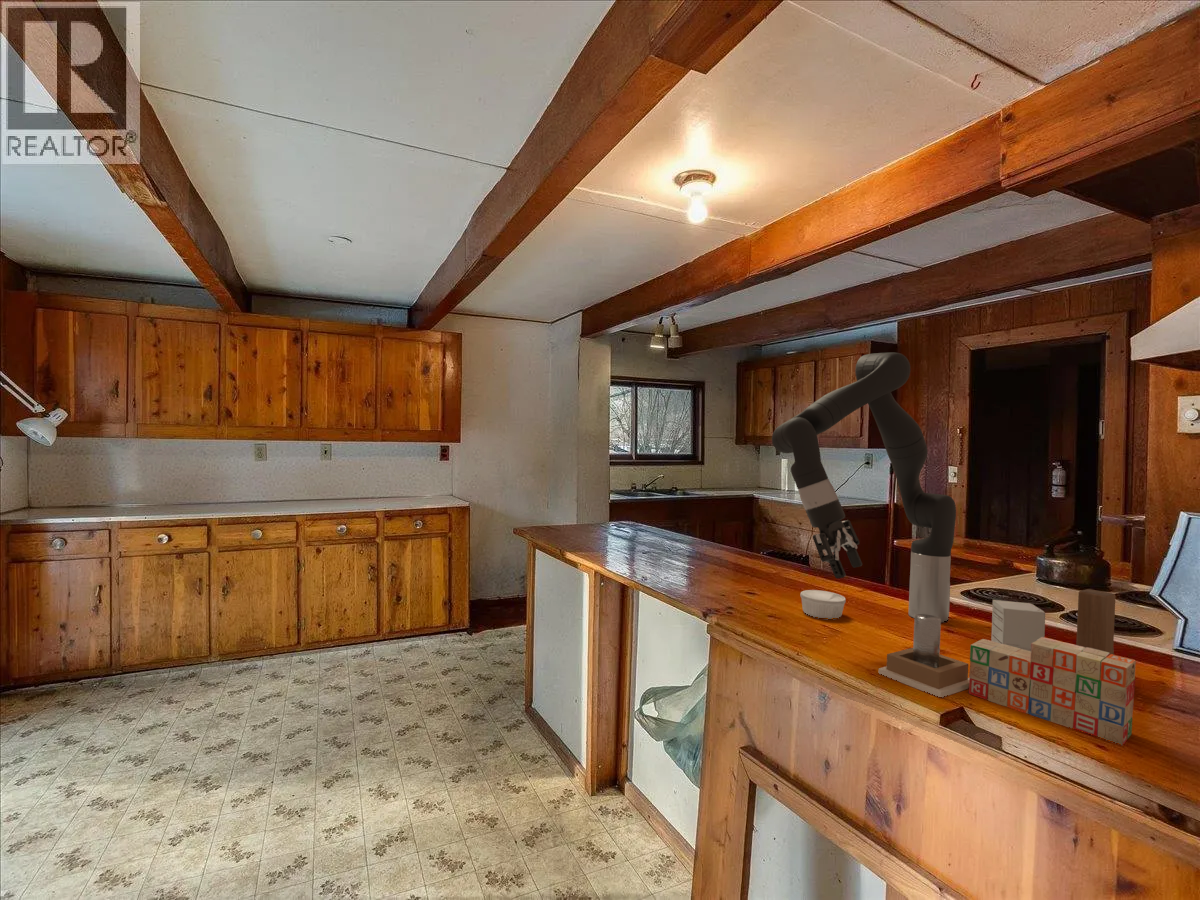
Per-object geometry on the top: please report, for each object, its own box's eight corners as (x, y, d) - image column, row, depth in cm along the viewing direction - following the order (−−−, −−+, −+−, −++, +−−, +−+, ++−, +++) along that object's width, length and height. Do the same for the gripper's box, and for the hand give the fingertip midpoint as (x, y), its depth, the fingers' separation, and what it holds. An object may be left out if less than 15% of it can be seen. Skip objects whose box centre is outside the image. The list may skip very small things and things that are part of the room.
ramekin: (851, 622, 146) (852, 601, 146) (808, 620, 146) (809, 599, 146) (834, 609, 157) (835, 590, 157) (794, 608, 157) (794, 589, 157)
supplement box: (1029, 661, 122) (1032, 602, 122) (1044, 674, 115) (1046, 612, 115) (989, 656, 124) (991, 598, 124) (1001, 668, 117) (1003, 607, 117)
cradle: (913, 663, 118) (914, 644, 118) (975, 685, 108) (976, 664, 108) (878, 673, 112) (879, 653, 112) (940, 698, 102) (941, 675, 101)
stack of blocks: (967, 694, 104) (970, 627, 104) (980, 687, 108) (983, 622, 107) (1124, 747, 87) (1127, 666, 87) (1133, 735, 90) (1136, 658, 90)
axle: (920, 668, 113) (922, 612, 113) (943, 676, 109) (945, 619, 109) (907, 671, 111) (909, 615, 111) (930, 680, 107) (932, 622, 107)
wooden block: (1092, 674, 116) (1096, 586, 116) (1121, 682, 112) (1125, 591, 112) (1073, 682, 111) (1077, 590, 111) (1103, 691, 107) (1107, 596, 107)
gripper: (820, 505, 121) (851, 578, 118) (849, 492, 131) (878, 559, 128) (791, 514, 126) (819, 584, 124) (820, 501, 136) (848, 566, 133)
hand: (849, 572), depth 126 cm, fingers open, 8 cm apart
